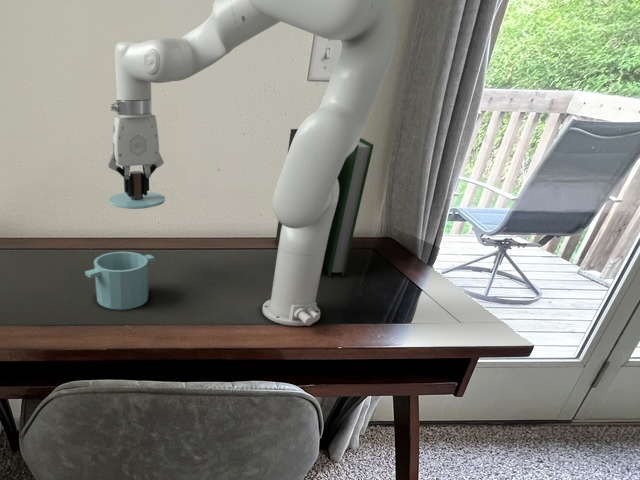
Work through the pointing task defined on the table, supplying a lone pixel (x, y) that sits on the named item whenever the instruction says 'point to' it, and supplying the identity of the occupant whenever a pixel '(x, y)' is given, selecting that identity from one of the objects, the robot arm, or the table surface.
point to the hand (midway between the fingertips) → (136, 194)
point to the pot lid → (137, 195)
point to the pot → (121, 279)
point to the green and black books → (344, 206)
